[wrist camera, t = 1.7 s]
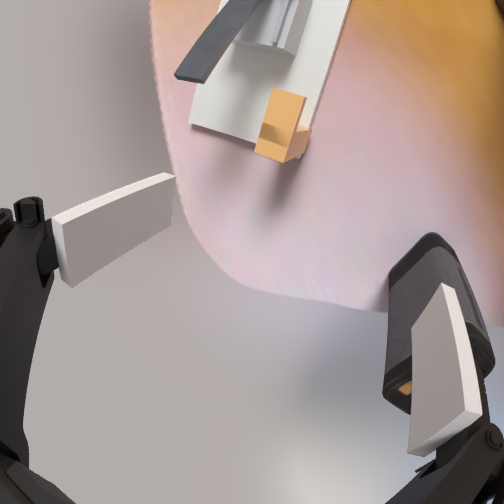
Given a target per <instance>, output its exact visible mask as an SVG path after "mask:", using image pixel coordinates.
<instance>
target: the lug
mask: <svg viewBox="0 0 504 504" xmlns="http://www.w3.org/2000/svg"><path fill="white" fill-rule="evenodd" d="M306 99H307V97H304V96H300V95H297V94H294V93H291V92H287V91H284V90H280V89H277V88H273V89H272V92H271V96H270V99H269V102H268V106H267V109H266V112H265V116H264V119H263V123H262V126H261V130H260V133H259V136H258V140H257V143H256V147H255V150H254V152H255V153H258V154H260V155H263V156H266V157H268V158H271V159H274V160H276V161H279V162H282V163H285V162H287V161H289V160H291V159H293V158H295V157H297V156H299V155H301V154H303V153H304V152H305V149H306V146H307V143H308V141H309V138H310V135H311V132H312V130H311V129H309V128H306V127H303V126H300V125H298V124H299V121H300V118H301V115H302V112H303V109H304V106H305V103H306Z"/></svg>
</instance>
